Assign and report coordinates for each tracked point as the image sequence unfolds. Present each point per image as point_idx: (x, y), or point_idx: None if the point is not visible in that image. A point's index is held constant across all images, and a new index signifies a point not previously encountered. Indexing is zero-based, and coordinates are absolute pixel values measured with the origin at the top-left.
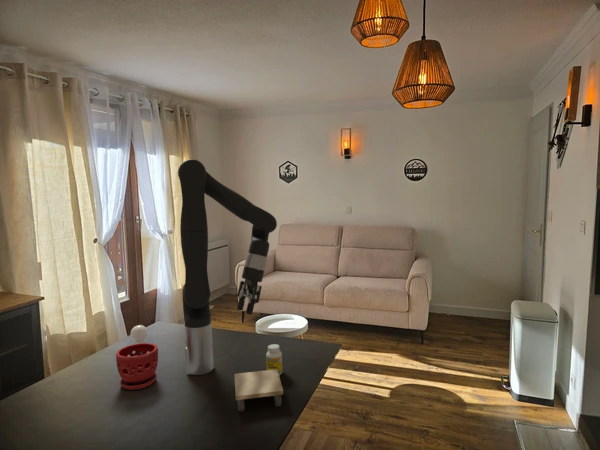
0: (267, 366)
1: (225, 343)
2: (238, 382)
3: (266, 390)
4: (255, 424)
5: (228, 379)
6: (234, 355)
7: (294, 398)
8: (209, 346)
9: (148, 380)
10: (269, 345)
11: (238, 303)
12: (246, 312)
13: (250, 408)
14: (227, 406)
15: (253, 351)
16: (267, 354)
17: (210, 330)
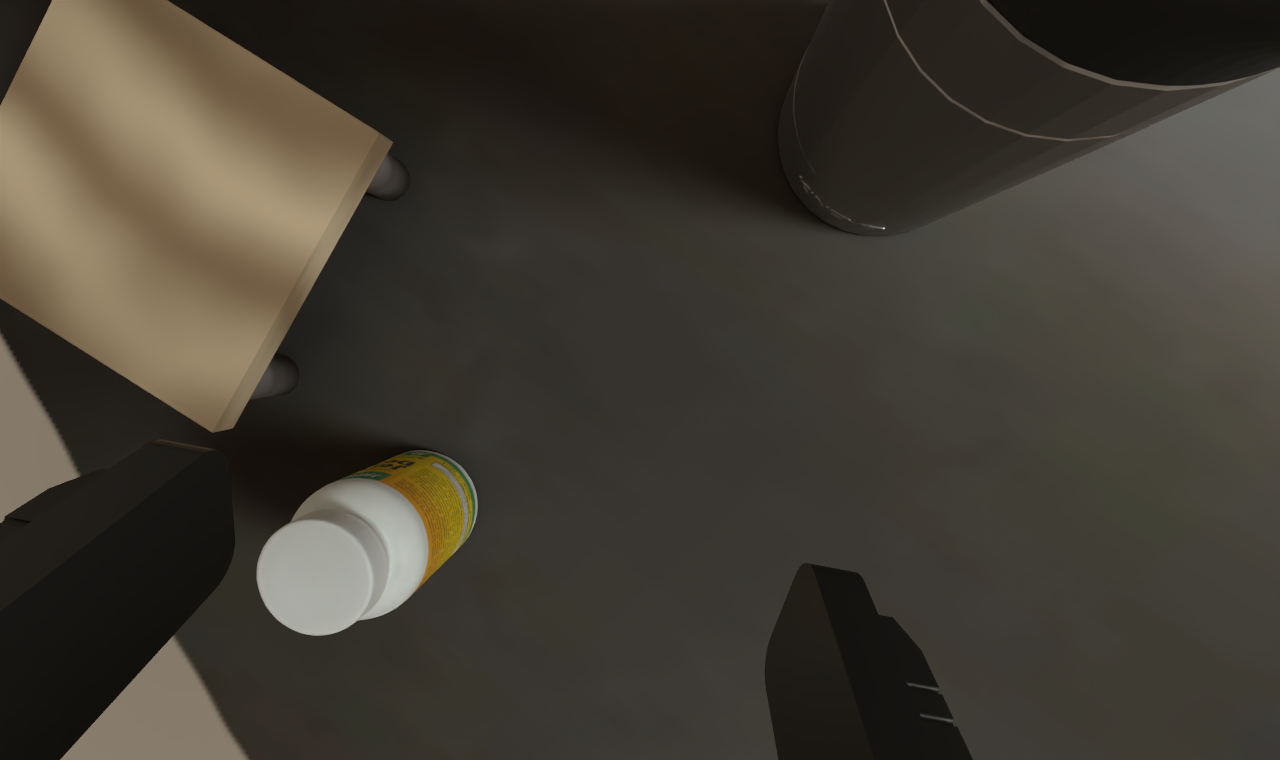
0: (407, 461)
1: (1175, 555)
2: (236, 77)
3: (3, 164)
4: (20, 35)
5: (582, 210)
6: (896, 469)
7: (85, 377)
8: (837, 99)
9: None
10: (362, 565)
11: (864, 690)
12: (159, 444)
13: None
14: (284, 13)
15: None
16: (361, 491)
17: (927, 56)
